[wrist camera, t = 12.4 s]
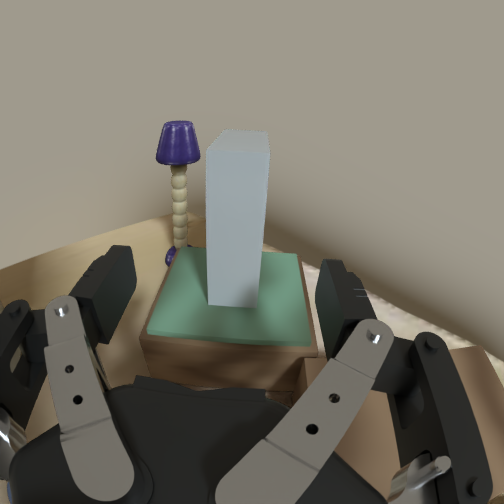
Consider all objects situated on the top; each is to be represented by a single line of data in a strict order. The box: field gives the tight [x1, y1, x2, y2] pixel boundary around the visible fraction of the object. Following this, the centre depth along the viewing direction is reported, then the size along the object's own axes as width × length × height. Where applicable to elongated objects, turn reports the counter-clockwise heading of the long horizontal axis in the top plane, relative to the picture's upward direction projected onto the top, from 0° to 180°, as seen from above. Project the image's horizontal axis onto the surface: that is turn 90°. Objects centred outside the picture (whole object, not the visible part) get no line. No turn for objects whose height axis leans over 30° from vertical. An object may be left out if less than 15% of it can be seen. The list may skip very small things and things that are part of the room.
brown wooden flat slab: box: [292, 345, 504, 501], centre depth 14 cm, size 16×13×5 cm
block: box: [206, 129, 270, 308], centre depth 22 cm, size 4×9×11 cm, turn 178°
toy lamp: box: [156, 121, 200, 266], centre depth 31 cm, size 5×5×17 cm
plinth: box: [139, 246, 318, 391], centre depth 25 cm, size 12×12×6 cm
